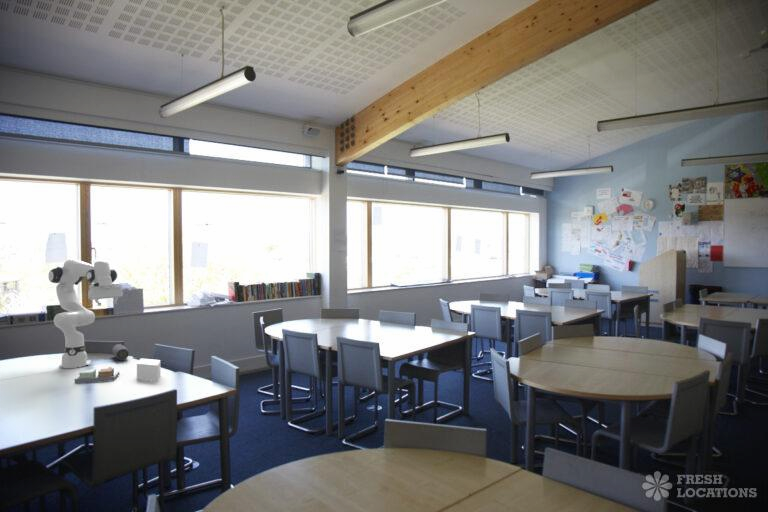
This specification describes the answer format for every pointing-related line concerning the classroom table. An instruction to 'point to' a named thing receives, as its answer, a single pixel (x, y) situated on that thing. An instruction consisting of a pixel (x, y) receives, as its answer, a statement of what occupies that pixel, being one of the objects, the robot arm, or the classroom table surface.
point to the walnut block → (106, 372)
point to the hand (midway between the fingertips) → (107, 304)
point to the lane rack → (96, 379)
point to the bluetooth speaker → (120, 352)
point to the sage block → (88, 374)
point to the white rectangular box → (148, 369)
